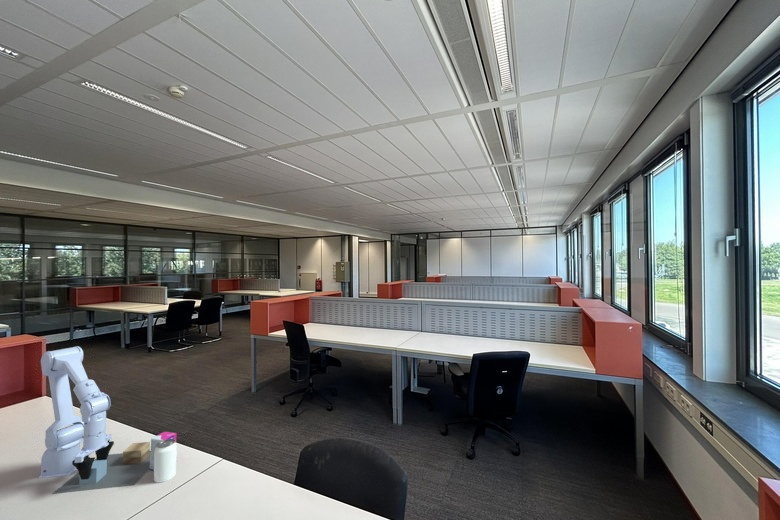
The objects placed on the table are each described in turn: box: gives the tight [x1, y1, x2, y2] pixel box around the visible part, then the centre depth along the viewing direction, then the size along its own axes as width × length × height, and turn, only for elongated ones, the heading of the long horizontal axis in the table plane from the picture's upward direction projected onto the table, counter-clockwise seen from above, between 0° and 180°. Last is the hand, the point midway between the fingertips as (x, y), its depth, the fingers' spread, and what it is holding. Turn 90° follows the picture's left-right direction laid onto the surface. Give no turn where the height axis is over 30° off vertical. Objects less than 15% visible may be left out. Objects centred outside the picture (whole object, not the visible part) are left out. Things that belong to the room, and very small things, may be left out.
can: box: [153, 439, 178, 483], centre depth 112 cm, size 6×6×12 cm
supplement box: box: [149, 431, 177, 471], centre depth 118 cm, size 6×6×12 cm
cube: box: [79, 460, 107, 485], centre depth 111 cm, size 5×5×5 cm
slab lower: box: [123, 448, 151, 465], centre depth 122 cm, size 6×6×2 cm
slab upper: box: [122, 441, 151, 459], centre depth 122 cm, size 6×6×2 cm
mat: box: [51, 452, 150, 495], centre depth 116 cm, size 24×22×1 cm
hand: (93, 471), depth 111 cm, fingers open, 7 cm apart
